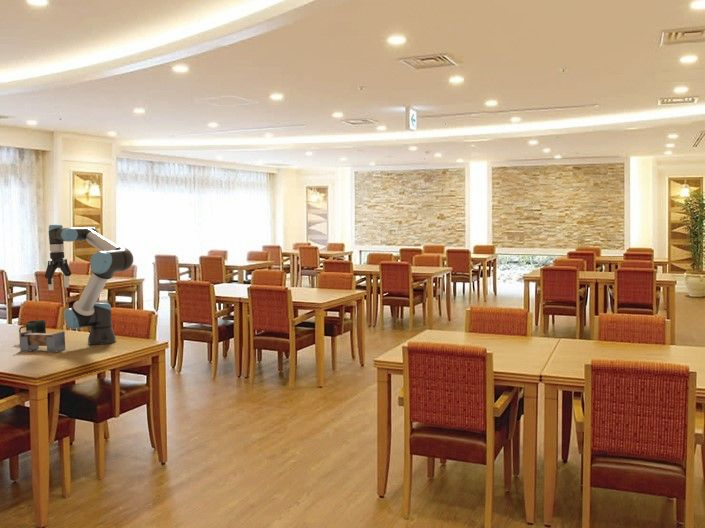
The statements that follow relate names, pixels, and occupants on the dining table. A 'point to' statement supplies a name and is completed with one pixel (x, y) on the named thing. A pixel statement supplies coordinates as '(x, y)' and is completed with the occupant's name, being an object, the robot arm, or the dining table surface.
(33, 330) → the mug
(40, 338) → the rail
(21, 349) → the bracket
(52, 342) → the bracket
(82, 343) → the dining table surface
